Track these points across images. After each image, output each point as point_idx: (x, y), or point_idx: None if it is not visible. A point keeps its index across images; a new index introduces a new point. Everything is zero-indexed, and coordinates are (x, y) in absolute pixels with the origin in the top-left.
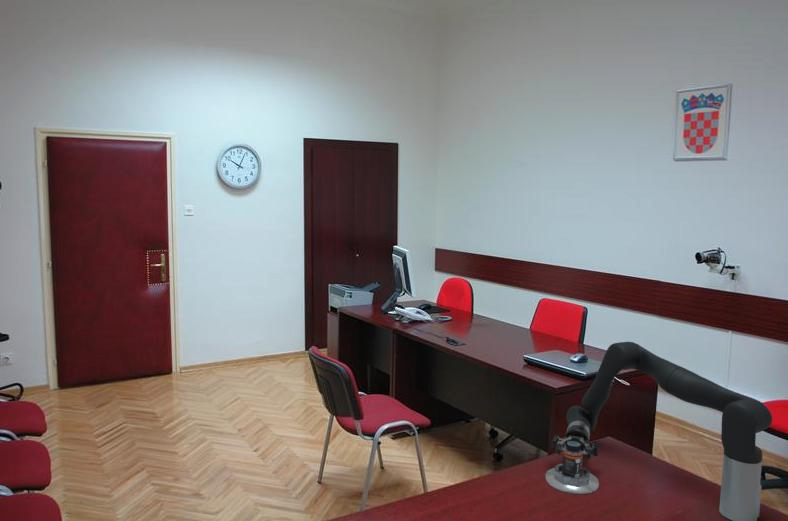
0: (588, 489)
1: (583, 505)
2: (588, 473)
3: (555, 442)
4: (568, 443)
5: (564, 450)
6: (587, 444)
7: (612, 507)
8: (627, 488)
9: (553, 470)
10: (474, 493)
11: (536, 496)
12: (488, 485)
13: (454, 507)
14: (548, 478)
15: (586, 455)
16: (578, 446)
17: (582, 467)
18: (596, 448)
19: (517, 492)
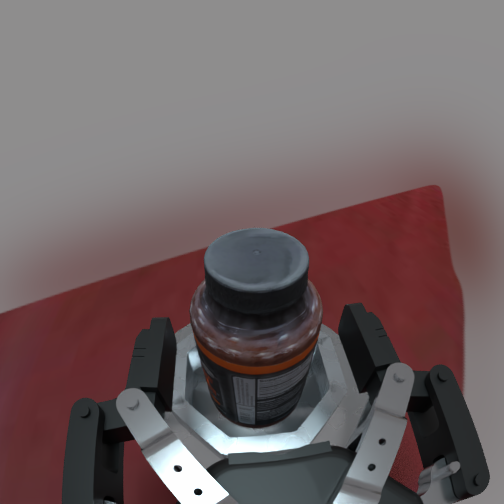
0: (181, 334)
1: (198, 277)
2: (175, 377)
3: (426, 380)
4: (291, 240)
5: (310, 281)
6: (149, 447)
7: (122, 294)
8: (49, 411)
9: (353, 417)
10: (421, 234)
11: (324, 267)
12: (431, 262)
13: (404, 203)
14: (339, 343)
15: (168, 322)
16: (215, 242)
17: (210, 430)
18: (82, 406)
19: (370, 264)
